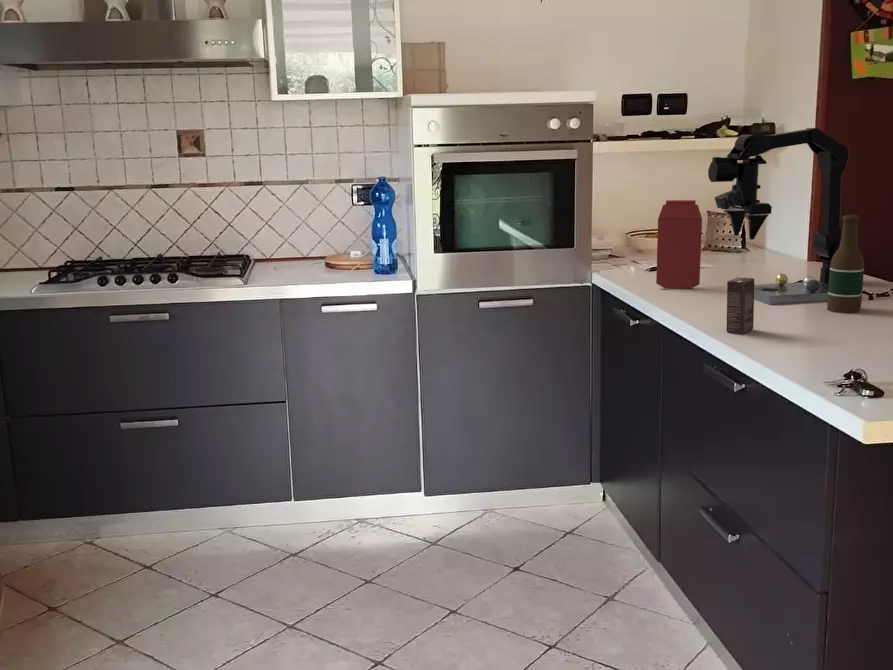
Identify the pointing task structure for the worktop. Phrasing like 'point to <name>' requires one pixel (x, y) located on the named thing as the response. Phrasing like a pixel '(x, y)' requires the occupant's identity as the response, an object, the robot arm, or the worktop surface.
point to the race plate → (789, 293)
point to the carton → (679, 245)
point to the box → (740, 305)
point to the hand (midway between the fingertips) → (743, 237)
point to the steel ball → (807, 280)
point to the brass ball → (781, 279)
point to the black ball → (813, 285)
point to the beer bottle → (846, 271)
